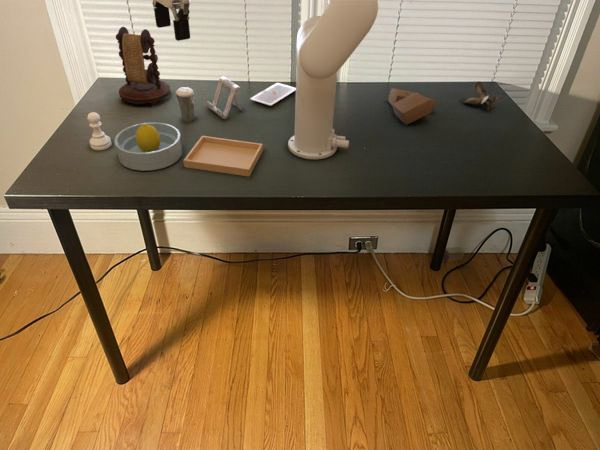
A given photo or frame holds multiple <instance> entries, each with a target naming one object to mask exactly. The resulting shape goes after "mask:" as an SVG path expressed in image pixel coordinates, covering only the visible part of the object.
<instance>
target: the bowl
mask: <svg viewBox="0 0 600 450" xmlns="http://www.w3.org/2000/svg"><path fill="white" fill-rule="evenodd" d="M144 124H147V125H151V126H153V127H155V128H156V130H157V131H158V133H159V136H160V146H159V148H158V149H157V151H153V152H143V151H142V150H141V149H140V148H139V147H138V145H137V142H136V132H137V130H138V128H139V127H140V126H142V125H144ZM113 142H114V146H115V149H116V153H117V157H118V162H119V163H120V164H121V165H122V166H124V168H128V169H130V170H135V171H141V172H143V171H145V172H146V171H147V172H148V171H156V170H160V169H165V168H167V167H170V166H172V165H174V164H175V163H177V162H179V160H180V159H181V157H182V156H183V152H184V148H183V142H182V136H181V132H180V130H179V129H178V128H176V127H175V126H174V125H171V124H168V123H164V122H157V121H155V122H153V121H152V122H142V123H136V124H133V125H130V126H128V127H125V128H124V129H122V130H120V131H119V132H118V133H117V134H115V137H114V139H113Z"/></svg>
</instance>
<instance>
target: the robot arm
mask: <svg viewBox="0 0 600 450" xmlns="http://www.w3.org/2000/svg"><path fill="white" fill-rule="evenodd" d="M190 5H191V0H152V7H153V12H154V20H155V25H156V26H155V27H157V28H158V29H160V28H166V27H167V28H168V27H171V26H172V24H173V30H174V33H173V34H174V40H175V41H177V42H180V41H184V40H189V39H191V31H190V21H189V20H190V12H191V11H190ZM177 10H178V11H177ZM170 11H171V13H172V16H173V17H174V19H173V20H172V23H171V15H170ZM378 12H379V2H378V0H327V7H326V9H325V10H323V13H322V14H321V16H320V15H315V16H311V17H309V18H307V20H305V21H304V22H303V23H302V24H301V26H300V28H299V30H298V32H297V35H296V74H295V75H296V76H295V77H296V78H295V88H296V90H295V100H294V101H295V106H294V135H292V136H291V137H290V139H288V142H287V147H288V150H289V152H291V153H292V154H293V155H295V156H296V157H299V158H301V159H305V160H323V159H327V158H330V157H332V156H333V155H334V154H335V153H336V151H337V149H338V148H342V149H349V145H350V140H346V136H344V135H337V134H335V130H336V129H335V128H333V125H334V115H335V104H336V92H337V84H338V83H337V82H338V72H339V70H340V69H341V68H342V67H343V66H344V65H345V64H346V62H347V61H348V60H349V58H350V57H351V56H352V54H353V53H354V52H355V51H356V49H357V48H358V46H360V44H361V43H362V42H363V40H364V39H365V38H366V36H367V35H368V34H369V33H370V31H371V29H372V28H373V26H374V24H375V21H376V20H377V16H378Z"/></svg>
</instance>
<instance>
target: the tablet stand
mask: <svg viewBox="0 0 600 450" xmlns="http://www.w3.org/2000/svg"><path fill="white" fill-rule="evenodd" d="M223 87H224V89H225V91H226V93H227V95H228V97H227V101H226V104H225V107H224V110H223V111H222V110H221V109H220V108H219V107H217V106H218V103H219V98H220V95H221V92H222V89H223ZM241 93H242V88H241V87H240V86H239V85H238V84H236V83H235V82H234V81H231V80H230V79H229V78H227V77H225V76H220V78H219V80H218V83H217V87H216V91H215V94H214V97H213V100H212V102H210V101H209V100H207V101H206V106H207V108H208V109H210V110H211V112H214V113H215V114H216V115H217V116H219V117H220V118H221V119H222V120H226V119H228V116H229V113H230V110H231V107H232V105H233V106H234V107H237V108H238V110H240V111H243V108H242V106H241V104H240V102H239V100H238V99H237V97H236V95H240V94H241Z"/></svg>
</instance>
